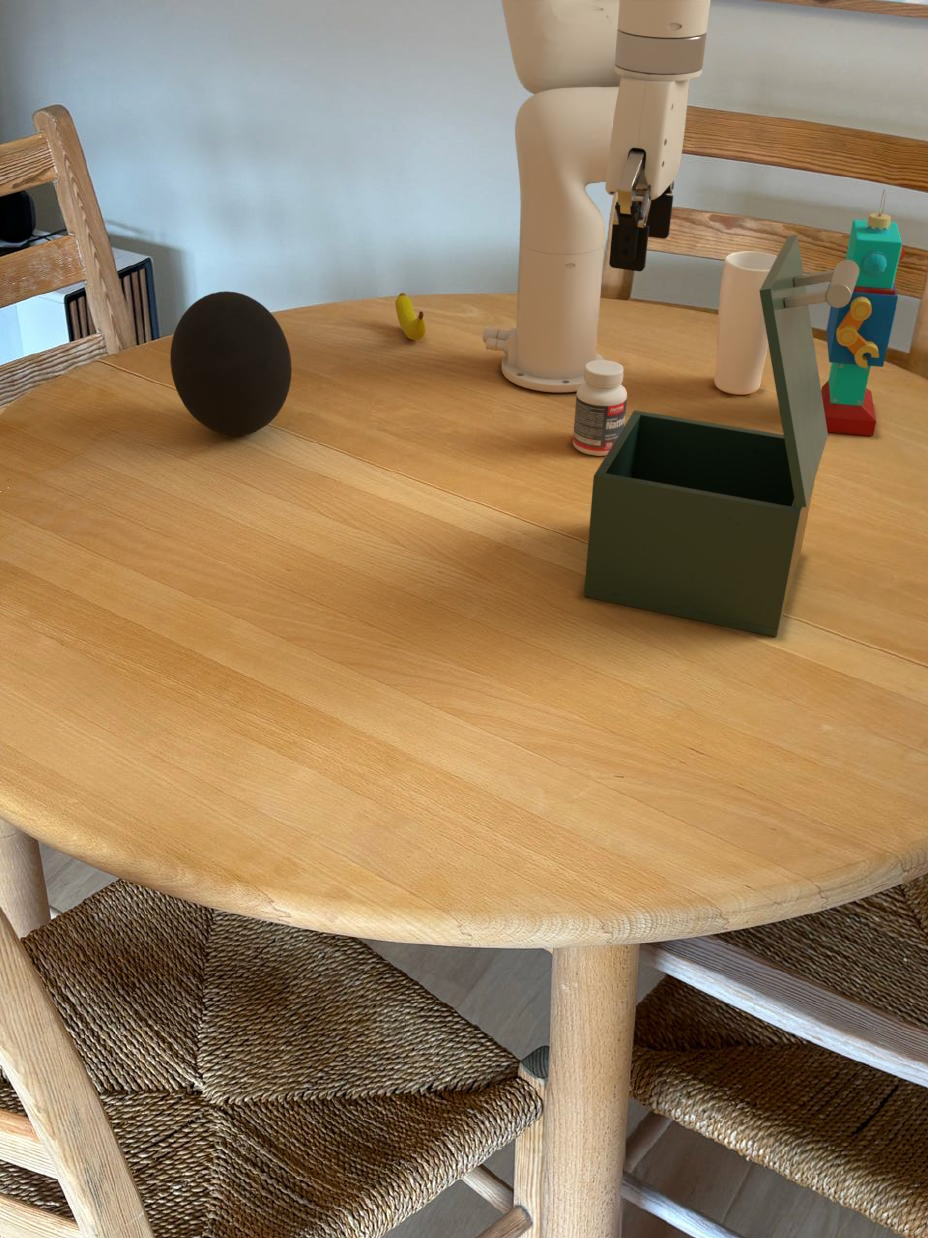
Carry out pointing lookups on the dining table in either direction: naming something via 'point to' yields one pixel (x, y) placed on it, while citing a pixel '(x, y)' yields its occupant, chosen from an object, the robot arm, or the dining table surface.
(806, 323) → the lid
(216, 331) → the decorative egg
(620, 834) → the dining table surface
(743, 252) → the drinking glass
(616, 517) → the box
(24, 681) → the dining table surface
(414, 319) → the fruit
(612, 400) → the pill bottle
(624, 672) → the dining table surface
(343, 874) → the dining table surface
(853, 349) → the toy robot
